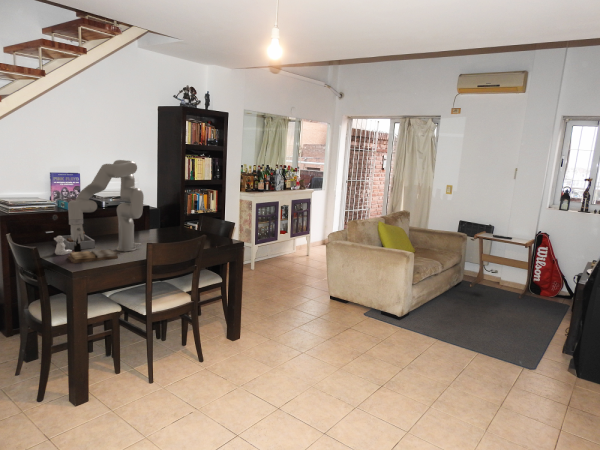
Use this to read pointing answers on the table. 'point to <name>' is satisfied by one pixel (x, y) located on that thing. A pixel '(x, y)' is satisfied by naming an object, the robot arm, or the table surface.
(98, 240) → the table surface
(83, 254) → the oak plank
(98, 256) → the floor board
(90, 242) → the block crate
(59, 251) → the sitting furry creature
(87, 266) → the table surface
